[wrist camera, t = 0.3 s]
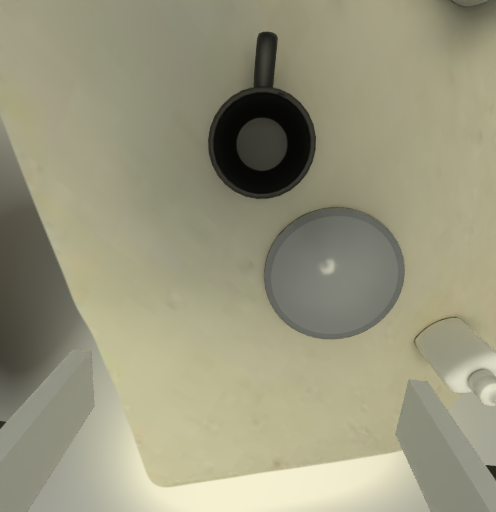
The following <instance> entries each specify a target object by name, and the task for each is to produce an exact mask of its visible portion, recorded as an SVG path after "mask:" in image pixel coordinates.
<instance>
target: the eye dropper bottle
mask: <svg viewBox="0 0 496 512" xmlns="http://www.w3.org/2000/svg"><path fill="white" fill-rule="evenodd" d="M415 343H416V346H417V348H418V349H419V351H420V352H421V354H422V355H423V356H424V358H425V359H426V360H427V362H428V363H429V364H430V365H431V367H432V368H433V369H434V371H435V372H436V373H437V375H438V376H439V377H440V379H441V380H442V381H443V382H444V384H445V385H446V386H447V387H448V388H449V389H450V390H451V391H452V392H456V393H466V392H474V393H475V395H476V396H477V397H478V398H479V399H480V401H481V402H482V403H484V404H486V405H490V406H495V405H496V351H495V350H494V349H493V348H492V347H490V346H489V345H488V344H487V343H486V342H485V341H484V340H483V339H482V338H481V337H479V336H478V335H477V334H476V333H475V332H474V331H473V330H472V329H470V328H469V327H468V326H467V325H466V324H465V323H464V322H463V321H461V320H460V319H459V318H449V319H444V320H441V321H438V322H436V323H434V324H432V325H430V326H429V327H427V328H426V329H425V330H424V331H422V332H421V333H420V334H419V336H418V337H417V338H416V340H415Z"/></svg>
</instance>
